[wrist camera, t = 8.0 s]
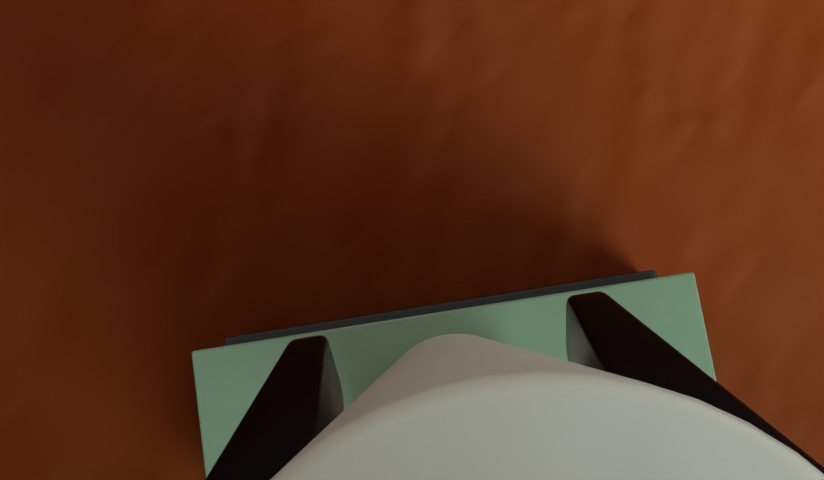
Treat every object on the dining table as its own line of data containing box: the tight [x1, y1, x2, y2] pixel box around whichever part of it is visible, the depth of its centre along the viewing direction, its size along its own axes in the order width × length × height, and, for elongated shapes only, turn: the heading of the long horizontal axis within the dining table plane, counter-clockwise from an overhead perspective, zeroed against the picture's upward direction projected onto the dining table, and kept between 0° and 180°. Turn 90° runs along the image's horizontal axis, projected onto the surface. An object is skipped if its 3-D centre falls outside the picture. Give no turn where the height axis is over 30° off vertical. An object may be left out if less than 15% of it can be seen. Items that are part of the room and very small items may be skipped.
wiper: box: [192, 270, 824, 480], centre depth 9 cm, size 4×9×13 cm, turn 99°
